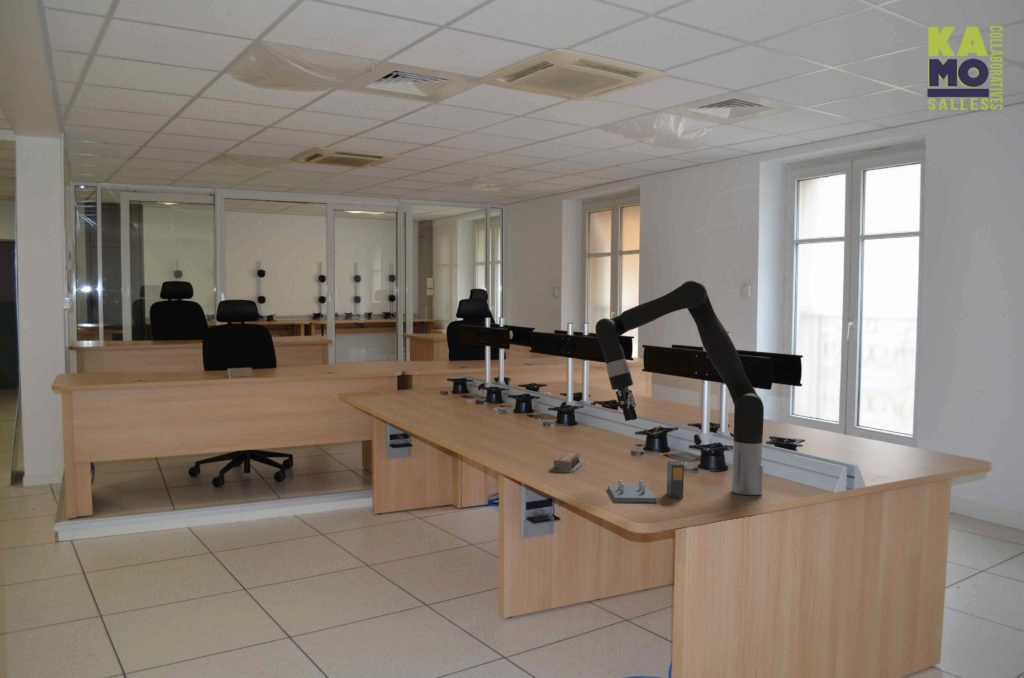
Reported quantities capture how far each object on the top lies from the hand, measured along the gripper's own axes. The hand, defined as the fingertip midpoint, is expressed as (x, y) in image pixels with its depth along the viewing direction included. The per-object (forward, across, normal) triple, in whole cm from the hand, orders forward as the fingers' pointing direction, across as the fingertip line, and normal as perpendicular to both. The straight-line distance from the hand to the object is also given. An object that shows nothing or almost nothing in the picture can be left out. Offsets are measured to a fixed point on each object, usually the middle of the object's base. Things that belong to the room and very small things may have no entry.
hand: (631, 420), depth 259 cm
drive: (+27, -5, -8) cm, 29 cm away
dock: (+24, -11, +4) cm, 27 cm away
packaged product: (+11, +20, +34) cm, 41 cm away
